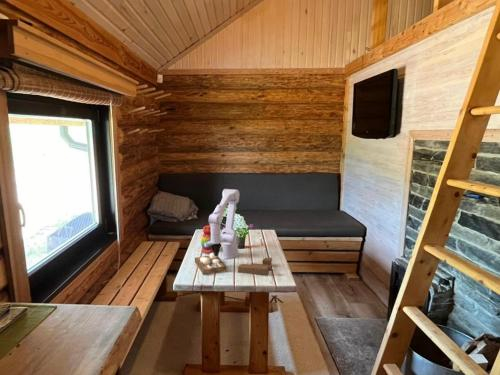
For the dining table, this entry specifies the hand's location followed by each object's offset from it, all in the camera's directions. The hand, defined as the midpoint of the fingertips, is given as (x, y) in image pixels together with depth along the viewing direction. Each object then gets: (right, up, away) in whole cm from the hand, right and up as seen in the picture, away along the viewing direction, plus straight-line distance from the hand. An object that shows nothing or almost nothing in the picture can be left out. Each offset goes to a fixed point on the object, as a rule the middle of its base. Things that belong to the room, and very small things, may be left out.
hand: (216, 255), depth 193 cm
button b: (-6, -5, -2) cm, 8 cm away
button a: (-8, -6, +4) cm, 11 cm away
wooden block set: (+24, -8, -1) cm, 25 cm away
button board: (-4, -7, +2) cm, 8 cm away
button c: (-2, -4, +6) cm, 7 cm away
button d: (0, -6, +1) cm, 6 cm away
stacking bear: (-8, -3, +28) cm, 29 cm away
